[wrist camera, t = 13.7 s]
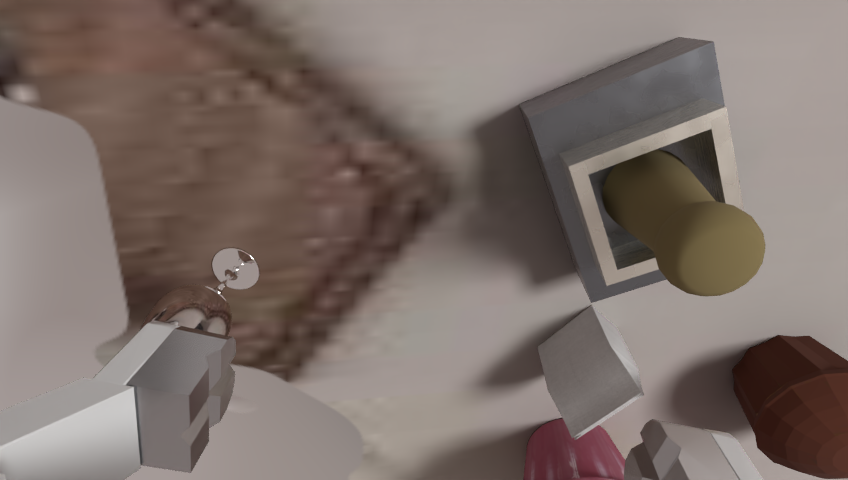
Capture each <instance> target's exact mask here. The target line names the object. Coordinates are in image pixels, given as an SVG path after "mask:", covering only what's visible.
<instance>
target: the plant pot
mask: <svg viewBox="0 0 848 480" xmlns="http://www.w3.org/2000/svg"><path fill="white" fill-rule="evenodd" d="M624 468H625V459H624V458H623V456H622V455H621V453H620V452H619V450H618V449H617V447H616V446H615V444H614V443H613V441H612V440H611V438H610V436H609V435H608V433H607V432H606V431H605V430H604V429H603V428H602V427H601V426H599V425H597V426H596V427H594V428H593V429H591V430H590V431H588V432H587V433H585V434H584V435H582V436H581V437H579V438H578V439H576V440H575V438H574V437H573V438H572V437H571V435H570V433H569V430H568V428H567V426H566V424H565V422H564V420H563V418H562V419H557V420H553V421H551V422H548V423H546V424H544V425H542V426H541V427H539V428H538V429H537V430H536V431H535V432H534V433H533V434H532V436H531V437H530V439H529V441H528V444H527V452H526V461H525V470H524V480H624Z"/></svg>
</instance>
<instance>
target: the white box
mask: <svg viewBox="0 0 848 480" xmlns="http://www.w3.org/2000/svg"><path fill="white" fill-rule="evenodd" d="M538 351H539V356H540V360H541V364H542V368H543V372H544V376H545V380H546V384H547V388H548V391H549V393H550V395H551V397H552V399H553V401H554V403H555V404H556V406H557V408H558V410H559V412H560V414H561V416H562V418H563V420H564V422H565V424H566V426H567V428H568V430H569V433H570V435H571V437H572V438H573V437H574V438H575V440H576V439H578V438H579V437H581V436H582V435H584V434H585V433H587V432H588V431H590V430H591V429H593V428H594V427H596V426H597V425H599V424H601V423H602V422H604V421H605V420H607V419H608V418H610V417H611V416H613V415H614V414H616V413H617V412H619V411H620V410H622V409H623V408H625V407H626V406H628V405H629V404H631V403H632V402H634V401H635V400H637V399H638V398H640V397H642V396H643V395H644V393H643V391H642V387H641V383H640V375H639V369H638V367H637V365H636V363H635V361H634V359H633V357H632V355H631V353H630V351H629V349H628V347H627V345H626V343H625V341H624V339H623V338H622V336H621V334H620V332H619V330H618V328H617V327H616V326H615V325H614V324H613V323H612V322H611V321H609V320H608V319H607V318H606V317H605V316H604V315H603V314H601V313H600V312H599V311H598V310H597V309H596V308H595V307H593V306H592V305H591V306H589V307H588V308H587V309H586V310H584V311H583V312H582V313H580V314H579V315H578V316H577V317H575V318H574V319H573V320H571V321H570V322H569V323H568V324H566V325H565V326H564V327H562V328H561V329H560V330H559V331H557V332H556V333H555V334H553V335H552V336H551V337H550V338H548V339H547V340H546V341H544V342H543V343H542V344H541V345H539V346H538Z"/></svg>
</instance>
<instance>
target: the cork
mask: <svg viewBox="0 0 848 480" xmlns="http://www.w3.org/2000/svg"><path fill="white" fill-rule="evenodd" d="M602 201H603V204H604V207H605V210H606V212H607V213H608V215H609V216H610V217H611V218H612V219H613V221H615V222H616V223H617V224H619V225H620V226H621V227H623V228H624V229H625V230H626V231H628V232H629V233H630V234H632V235H633V236H634V237H635V238H637V239H638V240H639V241H641V242H642V243H643V244H644V245H646V246H647V247H648V248H650V249H651V250H652V251H654V254H655V258H656V261H657V265H658V268H659V270H660V271H661V272H662V274H663V275H664V276H665V277H666V279H667V280H668V281H669V282H670V283H671V284H672V285H674V286H676V287H677V288H679V289H681V290H683V291H684V292H686V293H689V294H694V295H699V296H718V295H723V294H726V293H729V292H732V291H735V290H736V289H738V288H740V287H741V286H743V285H745V284H746V283H747V282H748V281H749V280H750V279H751V278H752V277H753V276H754V275H755V274H756V273H757V271H758V270H759V268H760V266H761V264H762V262H763V258H764V253H765V241H764V236H763V232H762V231H761V229H760V228H759V226H758V225H757V223H756V222H755V220H754V219H753V218H752V217H751V216H750V215H748V214H747V213H745V212H744V211H742V210H741V209H739V208H737V207H736V206H734V205H730V204H726V203H721V202H716V200H715V199H714V198H713V197H712V196H711V195H710V193H709V192H708V191H707V190H706V189H705V187H704V186H703V185H702V184H701V183H700V181H699V180H698V179H697V178H696V177H695V175H694V174H693V173H692V172H691V171H690V170H689V168H688V167H687V166H686V165H685V164H684V162H683V161H682V160H681V159H680V158H679V157H677V156H676V155H674V154H672V153H671V152H668V151H664V150H659V149H656V150H653V151H650V152H648V153H645V154H642V155H639V156H637V157H634V158H631V159H629V160H626V161H623V162H621V163H618V164H617V165H616V166H615V167H614V168H613V170H612V171H611V172H610V173H609V175H608V176H607V179H606V181H605V184H604V187H603V198H602Z"/></svg>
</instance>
